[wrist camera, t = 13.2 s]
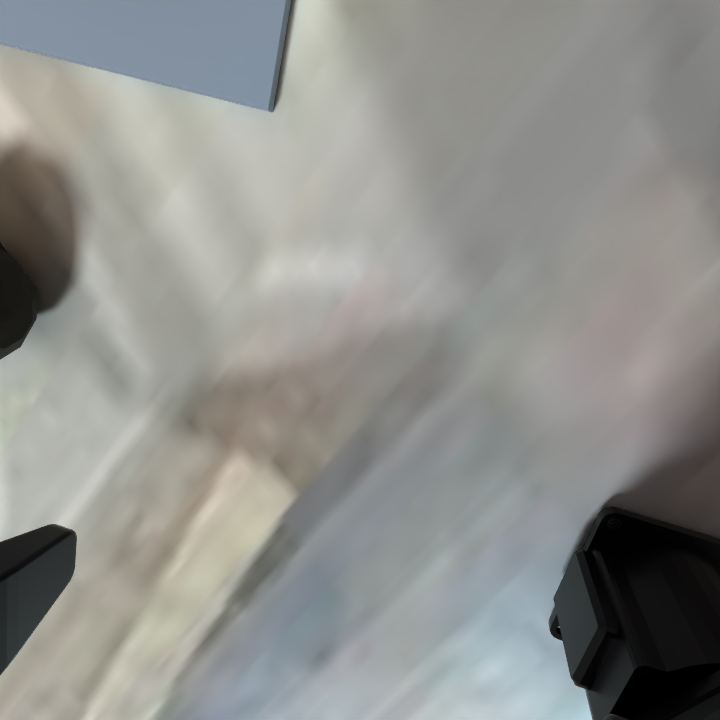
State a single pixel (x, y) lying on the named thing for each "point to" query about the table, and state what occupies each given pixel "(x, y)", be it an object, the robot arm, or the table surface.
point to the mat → (162, 41)
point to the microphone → (14, 304)
